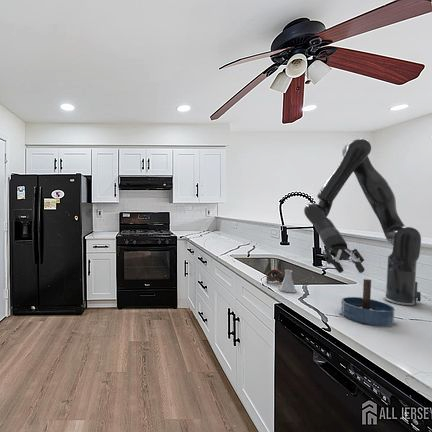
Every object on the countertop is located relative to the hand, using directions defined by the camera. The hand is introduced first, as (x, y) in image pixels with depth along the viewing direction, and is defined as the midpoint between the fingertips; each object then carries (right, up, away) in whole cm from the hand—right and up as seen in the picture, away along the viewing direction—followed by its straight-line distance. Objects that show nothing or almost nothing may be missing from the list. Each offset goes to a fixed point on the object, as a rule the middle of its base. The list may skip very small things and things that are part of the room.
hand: (352, 271), depth 111 cm
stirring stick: (0, -15, -7) cm, 17 cm away
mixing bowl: (0, -16, -7) cm, 17 cm away
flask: (-12, -14, +25) cm, 32 cm away
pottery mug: (-12, -14, +39) cm, 43 cm away
